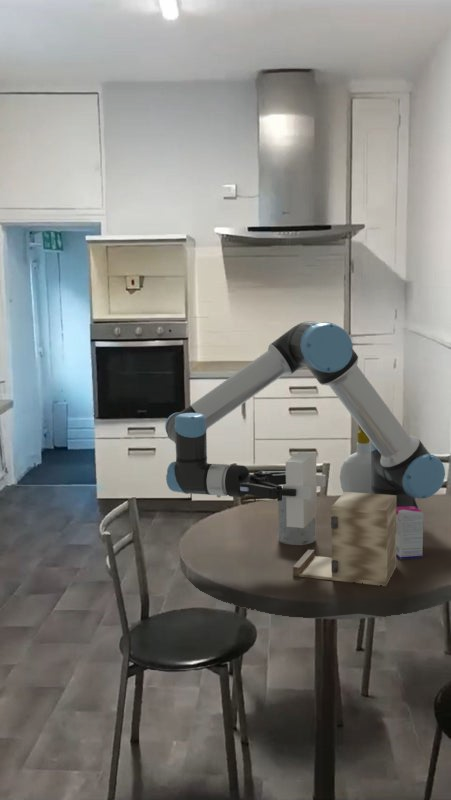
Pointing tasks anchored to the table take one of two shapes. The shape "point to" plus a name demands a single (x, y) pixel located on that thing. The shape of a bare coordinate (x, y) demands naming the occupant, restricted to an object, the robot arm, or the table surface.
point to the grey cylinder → (294, 529)
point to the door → (301, 474)
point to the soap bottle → (358, 467)
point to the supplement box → (409, 532)
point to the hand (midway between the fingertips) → (318, 486)
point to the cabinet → (357, 542)
